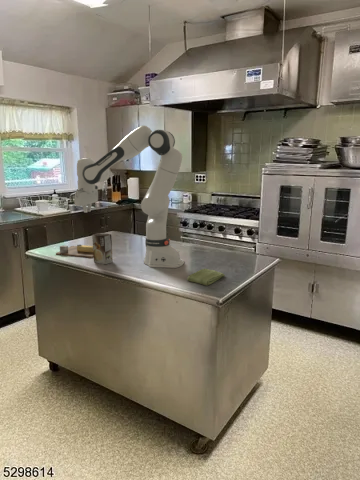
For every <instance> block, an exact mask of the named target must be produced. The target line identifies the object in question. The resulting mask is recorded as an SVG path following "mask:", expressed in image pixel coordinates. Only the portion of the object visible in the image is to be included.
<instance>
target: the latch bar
mask: <svg viewBox="0 0 360 480" xmlns="http://www.w3.org/2000/svg"><path fill="white" fill-rule="evenodd" d="M76 246H77V251H78V252H91V253H93V245H83V244H77V245H76Z"/></svg>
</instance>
